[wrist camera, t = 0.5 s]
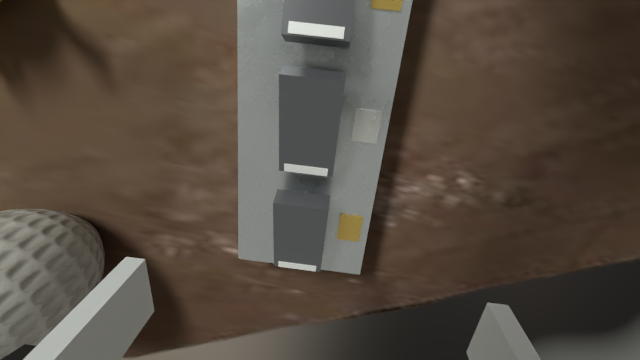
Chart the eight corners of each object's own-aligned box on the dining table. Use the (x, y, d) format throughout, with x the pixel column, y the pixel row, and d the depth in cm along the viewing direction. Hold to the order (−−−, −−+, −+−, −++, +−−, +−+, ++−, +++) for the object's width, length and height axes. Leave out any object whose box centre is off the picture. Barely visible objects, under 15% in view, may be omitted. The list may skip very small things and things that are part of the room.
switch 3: (277, 189, 30) (272, 203, 28) (330, 195, 29) (328, 210, 28) (277, 251, 35) (273, 266, 33) (322, 256, 35) (320, 272, 33)
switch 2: (283, 65, 25) (278, 74, 24) (345, 72, 25) (345, 82, 23) (283, 158, 31) (278, 171, 29) (333, 165, 31) (332, 177, 29)
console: (255, -98, 27) (233, -132, 22) (418, -82, 27) (436, -113, 21) (250, 234, 41) (236, 262, 35) (358, 248, 40) (360, 278, 35)
